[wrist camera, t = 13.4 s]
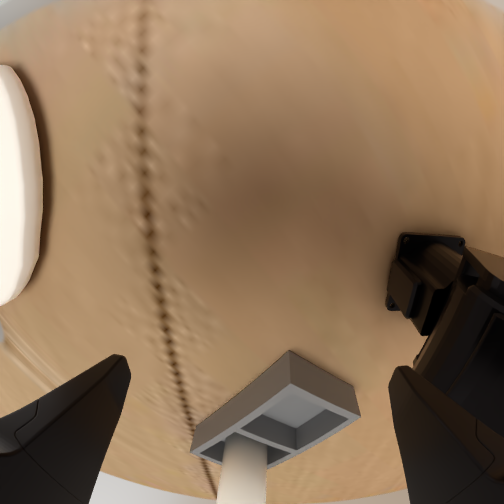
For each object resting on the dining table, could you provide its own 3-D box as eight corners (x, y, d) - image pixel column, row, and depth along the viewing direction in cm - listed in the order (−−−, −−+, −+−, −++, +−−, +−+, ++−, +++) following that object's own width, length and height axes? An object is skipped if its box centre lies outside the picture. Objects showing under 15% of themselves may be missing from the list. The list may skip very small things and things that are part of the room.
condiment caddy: (288, 350, 24) (290, 383, 20) (353, 386, 25) (361, 416, 21) (196, 426, 29) (189, 452, 25) (254, 450, 31) (252, 475, 27)
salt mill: (257, 419, 26) (249, 536, 14) (274, 439, 28) (272, 543, 15) (218, 427, 27) (201, 534, 15) (238, 445, 29) (227, 543, 16)
